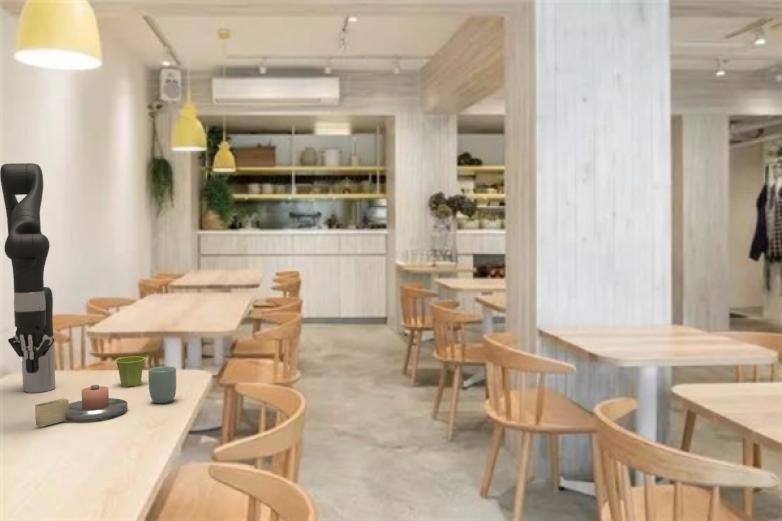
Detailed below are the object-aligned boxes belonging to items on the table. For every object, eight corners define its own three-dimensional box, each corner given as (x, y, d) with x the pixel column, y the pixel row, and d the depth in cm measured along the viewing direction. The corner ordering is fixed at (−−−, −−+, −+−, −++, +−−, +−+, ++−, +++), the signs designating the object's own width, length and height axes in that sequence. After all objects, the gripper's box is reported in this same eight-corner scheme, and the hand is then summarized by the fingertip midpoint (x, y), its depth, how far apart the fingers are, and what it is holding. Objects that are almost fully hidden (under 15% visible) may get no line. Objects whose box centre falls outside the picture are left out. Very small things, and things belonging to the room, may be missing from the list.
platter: (20, 420, 191) (19, 400, 191) (103, 400, 211) (102, 382, 211) (57, 431, 181) (56, 410, 180) (140, 409, 201) (140, 390, 201)
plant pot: (152, 383, 235) (151, 357, 235) (131, 389, 227) (130, 363, 226) (131, 380, 239) (130, 355, 239) (109, 386, 231) (108, 360, 230)
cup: (168, 405, 207) (167, 372, 206) (144, 404, 208) (143, 371, 208) (181, 399, 214) (180, 366, 214) (158, 398, 216) (157, 365, 215)
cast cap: (76, 407, 198) (76, 386, 197) (99, 402, 203) (98, 381, 203) (91, 411, 194) (90, 389, 193) (114, 405, 199) (113, 384, 199)
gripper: (-2, 310, 186) (0, 375, 187) (41, 310, 183) (44, 376, 184) (18, 306, 193) (21, 369, 194) (61, 307, 190) (63, 370, 191)
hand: (32, 372), depth 189 cm, fingers closed
